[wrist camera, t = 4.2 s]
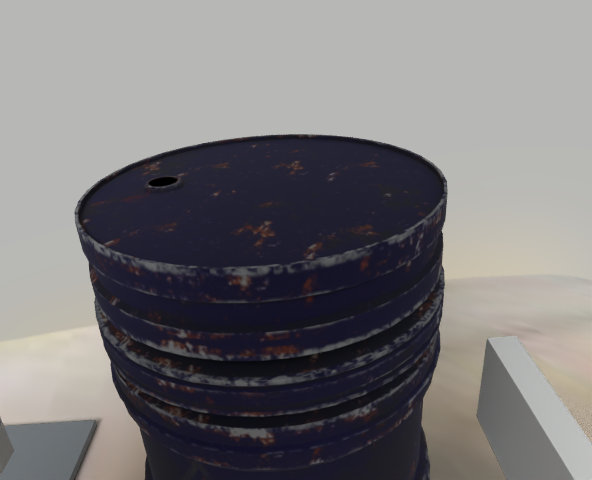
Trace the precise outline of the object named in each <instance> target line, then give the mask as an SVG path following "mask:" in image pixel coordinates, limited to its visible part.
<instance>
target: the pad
mask: <svg viewBox="0 0 592 480" xmlns="http://www.w3.org/2000/svg"><path fill="white" fill-rule="evenodd" d="M4 428H5V430H6V432H7V435H8V437H9V439H10V442H11V444H12V447H13V449H14V452H13V454H12V455H11V457H10V459H9V461H8V462H7V464H6V466H5V468H4V470H3V471H2V473H1V475H0V480H74V479H75V476H76V474H77V471H78V469H79V467H80V464H81V462H82V459H83V457H84V455H85V452H86V450H87V447H88V445H89V443H90V440H91V438H92V436H93V433H94V431H95V428H96V422H95V420H87V421H72V422H56V423H40V424H25V425H9V426H4Z"/></svg>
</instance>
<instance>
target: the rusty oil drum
mask: <svg viewBox="0 0 592 480" xmlns="http://www.w3.org/2000/svg"><path fill="white" fill-rule="evenodd" d="M446 204H447V181H446V179H445V177H444V175H443V174H442V172H441V171H440V170H439V169H438V168H437V167H436V166H435V165H434V164H433V163H432V162H430V161H428V160H427V159H425V158H423V157H422V156H420V155H418V154H415V153H413V152H411V151H408V150H406V149H403V148H399V147H396V146H393V145H390V144H386V143H381V142H376V141H372V140H365V139H359V138H353V137H342V136H332V135H306V134H305V135H304V134H301V135H300V134H296V135H295V134H290V135H266V136H254V137H243V138H235V139H227V140H220V141H214V142H208V143H203V144H198V145H193V146H188V147H184V148H180V149H176V150H172V151H169V152H165V153H161V154H158V155H155V156H152V157H149V158H146V159H143V160H140V161H138V162H135V163H133V164H130V165H128V166H126V167H124V168H122V169H120V170H117V171H115V172H113V173H112V174H110V175H108V176H106V177H105V178H103V179H102V180H100V181H98V182H97V183H96V184H95V185H93V186H92V187H91V188H90V189H89V190H87V192H86V193H85V194H84V195H83V196H82V198H81V199H80V200H79V202H78V204H77V207H76V210H75V223H76V227H77V231H78V234H79V238H80V242H81V245H82V249H83V252H84V254H85V256H86V257H87V259H88V261H89V271H90V278H91V282H92V286H93V290H94V293H95V302H94V303H95V311H96V318H97V321H98V324H99V329H100V333H101V336H102V339H103V343H104V347H105V350H106V352H107V354H108V356H109V358H110V360H111V371H112V378H113V382H114V385H115V387H116V389H117V391H118V394H119V396H120V398H121V399H122V401H123V402H124V404H125V406H126V408H127V410H128V413H129V414H130V416H131V417H132V418H133V419H134V421H135V422H136V423H137V424H138V426H139V427H140V431H141V435H142V439H143V442H144V446H145V450H146V454H147V458H146V463H145V480H430V463H429V458H428V449H427V444H426V439H425V434H424V431H423V428H422V426H421V420H422V406H423V397H424V395H425V393H426V391H427V389H428V387H429V386H430V384H431V380H432V376H433V372H434V369H435V367H436V364H437V360H438V356H439V352H440V332H439V325H440V321H441V318H442V307H443V298H444V286H445V283H444V269H443V267H442V253H443V233H442V231H441V230H442V228H443V225H444V222H445V216H446Z"/></svg>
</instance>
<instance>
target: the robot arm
mask: <svg viewBox="0 0 592 480" xmlns="http://www.w3.org/2000/svg"><path fill="white" fill-rule="evenodd" d="M477 418H478V420H479V422H480V424H481V426H482V428H483V431H484V433H485V435H486V437H487V439H488V441H489V443H490V445H491V447H492V449H493V452H494V454H495V456H496V458H497V460H498V462H499V464H500V466H501V468H502V470H503V472H504V475H505V477H506V479H507V480H592V443H591V441H590V440H589V439H588V437H587V436H586V434H585V433H584V431H583V430H582V429H581V427H580V426H579V424H578V423H577V421H576V420H575V419H574V417H573V416H572V414H571V413H570V412H569V410H568V409H567V407H566V406H565V404H564V403H563V402H562V400H561V399H560V397H559V396H558V394H557V393H556V392H555V390H554V389H553V387H552V386H551V384H550V383H549V382H548V380H547V379H546V377H545V376H544V375H543V373H542V372H541V370H540V369H539V367H538V366H537V365H536V363H535V362H534V360H533V359H532V357H531V356H530V355H529V353H528V352H527V350H526V349H525V348H524V346H523V345H522V343H521V342H520V340H519V339H518V338H517V336H506V337H492V338H487V342H486V350H485V357H484V365H483V372H482V380H481V387H480V395H479V402H478V410H477ZM13 452H14V449H13V447H12V444H11V442H10V439H9V437H8V435H7V432H6V430H5V428H4V425H3V423H2V421H1V418H0V475H1V473H2V471H3V470H4V468H5V466H6V464H7V462H8V461H9V459H10V457H11V455H12V454H13Z"/></svg>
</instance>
